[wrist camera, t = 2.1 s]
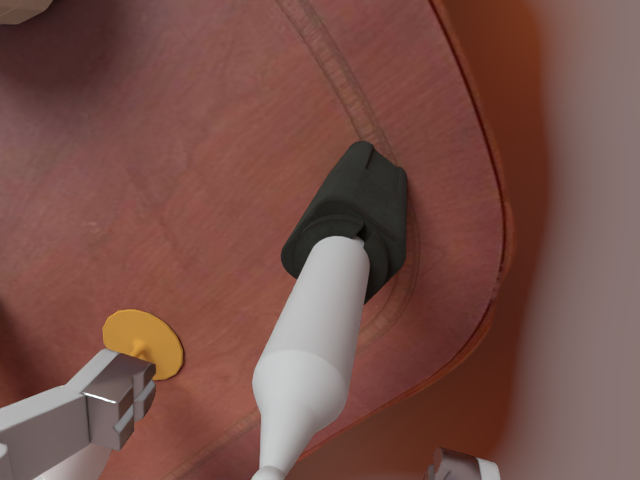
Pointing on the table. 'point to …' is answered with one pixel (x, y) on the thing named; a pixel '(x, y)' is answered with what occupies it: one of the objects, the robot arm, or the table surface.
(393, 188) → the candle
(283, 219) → the table surface
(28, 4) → the bowl
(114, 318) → the cup
